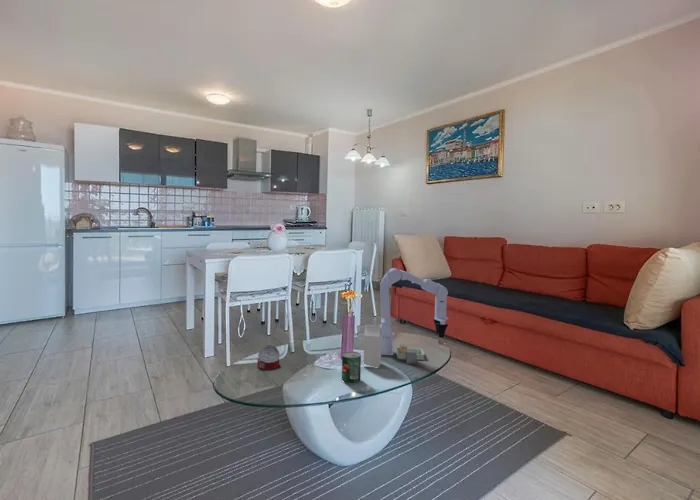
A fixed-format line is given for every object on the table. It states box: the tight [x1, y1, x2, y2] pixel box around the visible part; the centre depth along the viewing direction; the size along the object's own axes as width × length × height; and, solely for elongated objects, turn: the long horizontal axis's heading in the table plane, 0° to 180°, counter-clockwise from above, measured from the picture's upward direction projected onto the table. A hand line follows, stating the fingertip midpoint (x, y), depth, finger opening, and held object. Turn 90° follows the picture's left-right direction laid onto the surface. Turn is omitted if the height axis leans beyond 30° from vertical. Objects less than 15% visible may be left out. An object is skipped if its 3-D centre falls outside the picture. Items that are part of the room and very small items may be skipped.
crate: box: [395, 347, 426, 361], centre depth 184 cm, size 13×10×3 cm
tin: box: [405, 349, 417, 365], centre depth 175 cm, size 5×5×6 cm
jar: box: [399, 344, 409, 354], centre depth 184 cm, size 4×4×5 cm
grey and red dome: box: [257, 344, 281, 370], centre depth 170 cm, size 11×10×10 cm
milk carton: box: [363, 324, 382, 368], centre depth 170 cm, size 7×7×19 cm
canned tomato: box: [341, 351, 362, 385], centre depth 153 cm, size 8×8×11 cm
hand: (440, 335), depth 188 cm, fingers open, 7 cm apart
